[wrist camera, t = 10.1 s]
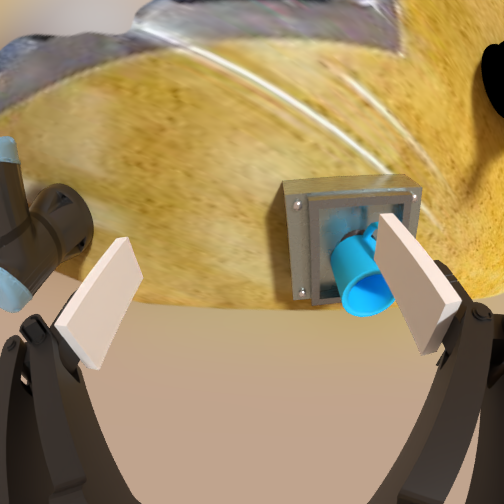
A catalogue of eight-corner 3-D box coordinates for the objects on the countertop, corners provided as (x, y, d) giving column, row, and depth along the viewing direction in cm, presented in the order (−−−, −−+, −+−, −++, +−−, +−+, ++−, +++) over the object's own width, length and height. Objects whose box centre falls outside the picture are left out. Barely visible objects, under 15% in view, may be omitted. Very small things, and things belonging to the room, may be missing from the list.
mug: (371, 282, 41) (386, 317, 34) (324, 277, 41) (333, 315, 34) (395, 215, 35) (421, 245, 28) (344, 206, 35) (363, 236, 28)
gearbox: (290, 277, 49) (294, 308, 42) (282, 181, 40) (285, 200, 33) (407, 264, 46) (423, 291, 40) (419, 174, 37) (445, 192, 30)
